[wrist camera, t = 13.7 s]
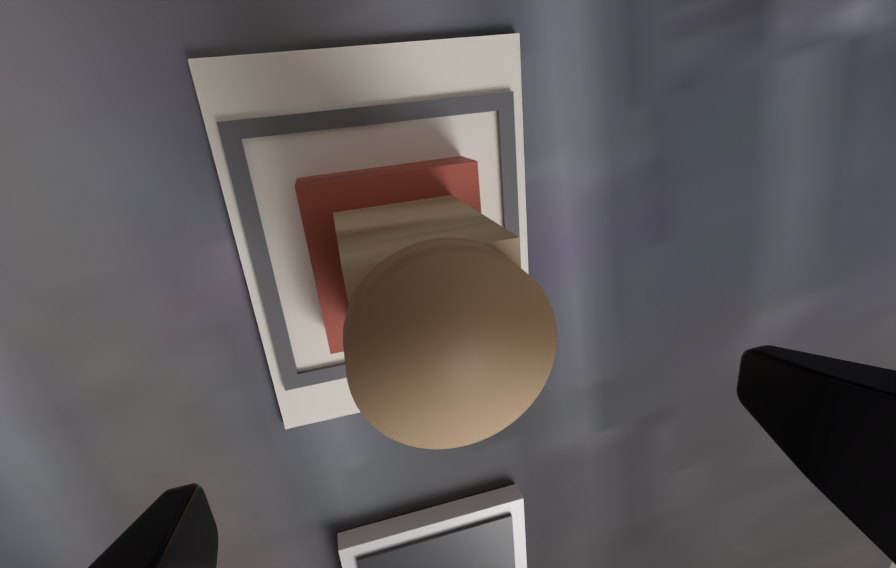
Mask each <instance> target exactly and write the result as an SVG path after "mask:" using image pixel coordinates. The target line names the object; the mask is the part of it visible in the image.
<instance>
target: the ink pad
mask: <svg viewBox="0 0 896 568" xmlns="http://www.w3.org/2000/svg"><path fill="white" fill-rule="evenodd" d="M337 536H338V552H339V556H340V560H341V564H342V568H527V561H526V541H525V521H524V502H523V497H522V495H521V493H520V491H519V489H518V487H517V485H516V484H514V485H510V486H506V487H503V488H499V489H495V490H492V491H488V492H485V493H481V494H477V495H474V496H470V497H467V498H463V499H459V500H456V501H452V502H448V503H445V504H441V505H438V506H434V507H430V508H427V509H423V510H419V511H416V512H412V513H409V514H405V515H401V516H398V517H394V518H391V519H387V520H383V521H380V522H376V523H372V524H369V525H365V526H362V527H358V528H354V529H351V530H347V531H343V532H340V533H337Z"/></svg>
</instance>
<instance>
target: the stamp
mask: <svg viewBox="0 0 896 568" xmlns="http://www.w3.org/2000/svg"><path fill="white" fill-rule="evenodd" d="M295 191H296V195H297V200H298V205H299V209H300V214H301V219H302V223H303V228H304V233H305V237H306V242H307V247H308V251H309V256H310V261H311V265H312V270H313V275H314V279H315V284H316V289H317V293H318V298H319V303H320V307H321V312H322V317H323V321H324V326H325V331H326V335H327V340H328V345H329V349H330V354H334V353H339V352H344V358H345V367H346V375H347V382H348V386H349V389H350V393H351V395H352V397H353V400H354V402H355V404H356V406H357V407H358V409H359V410H360V412H361V413H362V415H363V416H364V417H365V418H366V419H367V421H368V422H369V423H370V424H371V425H372V426H374V427H375V428H376V429H377V430H378V431H380V432H381V433H383V434H384V435H386V436H388V437H389V438H391V439H393V440H395V441H398V442H400V443H403V444H406V445H410V446H413V447H418V448H425V449H449V448H456V447H461V446H466V445H469V444H473V443H476V442H479V441H481V440H483V439H486V438H488V437H490V436H492V435H494V434H496V433H498V432H499V431H501V430H503V429H504V428H506V427H507V426H508V425H510V424H511V423H513V422H514V421H515V420H516V419H517V418H518V417H520V416H521V415H522V414H523V413H524V412H525V411H526V410H527V409H528V408H529V406H530V405H531V404H532V403H533V402H534V400H535V399H536V398H537V396H538V395H539V393H540V392H541V390H542V388H543V387H544V385H545V383H546V381H547V379H548V377H549V374H550V372H551V369H552V366H553V363H554V359H555V354H556V348H557V329H556V321H555V317H554V313H553V310H552V307H551V305H550V302H549V300H548V298H547V297H546V295H545V293H544V291H543V290H542V289H541V287H540V286H539V285H538V284H537V282H536V281H535V280H534V279H533V278H532V277H531V276H530V275H528V274H527V273H526V272H525V271H524V270H523V269H521V262H520V241H519V237H518V236H516V235H515V234H513V233H512V232H510V231H508V230H507V229H505V228H504V227H502V226H500V225H499V224H497V223H496V222H494V221H493V220H491V219H489V218H488V217H486V216H485V215H483V214H481V201H480V188H479V175H478V161H476V160H472V159H469V158H466V157H463V156H457V157H450V158H442V159H435V160H427V161H420V162H412V163H405V164H397V165H390V166H382V167H375V168H367V169H360V170H352V171H345V172H337V173H330V174H322V175H315V176H307V177H300V178H297V179H296V183H295Z"/></svg>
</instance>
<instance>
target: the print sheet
mask: <svg viewBox="0 0 896 568" xmlns="http://www.w3.org/2000/svg"><path fill="white" fill-rule="evenodd" d="M188 63H189V67H190V70H191V74H192V78H193V82H194V85H195V89H196V93H197V97H198V101H199V104H200V108H201V112H202V116H203V120H204V123H205V127H206V131H207V135H208V138H209V142H210V146H211V150H212V154H213V157H214V161H215V165H216V169H217V172H218V176H219V180H220V184H221V188H222V191H223V195H224V199H225V203H226V207H227V210H228V214H229V218H230V222H231V225H232V229H233V233H234V237H235V241H236V244H237V248H238V252H239V256H240V259H241V263H242V267H243V271H244V275H245V278H246V282H247V286H248V290H249V294H250V297H251V301H252V305H253V309H254V312H255V316H256V320H257V324H258V328H259V331H260V335H261V339H262V343H263V346H264V350H265V354H266V358H267V362H268V365H269V369H270V373H271V377H272V381H273V384H274V388H275V392H276V396H277V399H278V403H279V407H280V411H281V415H282V418H283V422H284V426H285V429H289V428H293V427H298V426H302V425H306V424H311V423H315V422H319V421H324V420H328V419H333V418H337V417H341V416H346V415H350V414H354V413H359V412H360V410H359V409H358V407H357V406H356V404H355V402H354V400H353V397H352V395H351V393H350V389H349V386H348V382H347V375H346V367H345V358H344V352H339V353H334V354H330V349H329V345H328V340H327V335H326V331H325V326H324V321H323V317H322V312H321V307H320V303H319V298H318V293H317V289H316V284H315V279H314V275H313V270H312V265H311V261H310V256H309V251H308V247H307V242H306V237H305V233H304V228H303V223H302V219H301V214H300V209H299V205H298V200H297V195H296V191H295V183H296V179H297V178H300V177H307V176H315V175H322V174H330V173H337V172H345V171H352V170H360V169H367V168H375V167H382V166H390V165H397V164H405V163H412V162H420V161H427V160H435V159H442V158H450V157H457V156H463V157H466V158H469V159H472V160H476V161H478V175H479V188H480V201H481V214H483V215H485V216H486V217H488V218H489V219H491V220H493V221H494V222H496V223H497V224H499V225H500V226H502V227H504V228H505V229H507V230H508V231H510V232H512V233H513V234H515V235H516V236H518V237H519V241H520V262H521V269H523V270H524V271H525V272H526V273H527V274H528V249H527V222H526V196H525V169H524V143H523V116H522V89H521V63H520V36H519V33H514V34H501V35H488V36H475V37H463V38H450V39H437V40H424V41H411V42H398V43H386V44H373V45H360V46H347V47H334V48H321V49H309V50H296V51H283V52H270V53H257V54H244V55H232V56H219V57H206V58H193V59H188Z"/></svg>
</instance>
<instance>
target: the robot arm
mask: <svg viewBox="0 0 896 568" xmlns="http://www.w3.org/2000/svg"><path fill="white" fill-rule="evenodd" d="M737 395H738V398H739V400H740V402H741V403H742V405H743V406H744V407H745V408H746V409H747V411H748V412H749V413H750V414H751V415H752V416H753V417H754V419H755V420H756V421H757V422H758V423H759V424H760V425H761V427H762V428H763V429H764V430H765V431H766V432H767V433H768V435H769V436H770V437H771V438H772V439H773V440H774V441H775V443H776V444H777V445H778V446H779V447H780V448H781V449H782V451H783V452H784V453H785V454H786V455H787V456H788V457H789V459H790V460H791V461H792V462H793V463H794V464H795V465H796V466H797V468H798V469H799V470H800V471H801V472H802V473H803V474H804V475H805V476H806V477H807V478H808V479H809V480H810V481H811V482H812V483H813V484H814V485H815V486H816V487H817V488H818V489H819V490H820V491H821V492H822V493H823V494H824V495H825V496H826V497H827V498H828V499H829V500H830V501H831V502H832V503H833V504H834V505H835V506H836V507H837V508H838V509H839V510H840V511H841V512H842V513H843V514H844V515H845V516H846V517H847V518H848V519H849V520H851V521H852V522H853V523H854V524H855V525H856V526H857V527H858V528H859V529H860V530H861V531H862V532H863V533H864V534H865V535H866V536H867V537H868V538H869V539H870V540H871V541H872V542H873V543H874V544H875V545H876V546H877V547H878V548H879V549H880V550H881V551H882V552H883V553H884V554H885V555H886V556H887V557H889V558H890V559H891V560H892V561H893V562H894V563H895V564H896V371H895V370H890V369H885V368H880V367H875V366H870V365H865V364H860V363H855V362H850V361H845V360H840V359H835V358H830V357H825V356H820V355H815V354H810V353H805V352H800V351H795V350H790V349H785V348H780V347H775V346H770V345H766V346H760V347H756V348H752V349H748V350H746V351H745V352H744V353H743V355H742V357H741V362H740V369H739V375H738V382H737ZM217 552H218V531H217V526H216V523H215V520H214V517H213V514H212V512H211V509H210V506H209V503H208V501H207V498H206V495H205V492H204V490H203V488H202V487H201V486H200V485H199V484H196V483H192V484H188V485H184V486H180V487H176V488H172V489H169V490H167V491H165V492H164V493H163V494H162V495H161V496H160V497H159V498H158V499H157V500H156V501H155V502H154V503H153V504H152V505H151V506H150V507H149V508H148V509H147V510H146V511H145V512H144V513H143V514H142V515H141V516H139V517H138V518H137V519H136V520H135V521H134V522H133V523H132V524H131V525H130V526H129V527H128V528H127V529H126V530H125V531H124V532H123V533H122V534H121V535H120V536H119V537H118V538H117V539H116V540H115V541H114V542H113V543H112V544H111V545H110V546H109V547H108V548H107V549H106V550H105V551H104V552H103V553H102V554H101V555H100V556H99V557H98V558H97V559H96V560H95V561H94V562H93V563H92V564H91V565H90V566H89V567H88V568H216V564H217Z"/></svg>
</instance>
